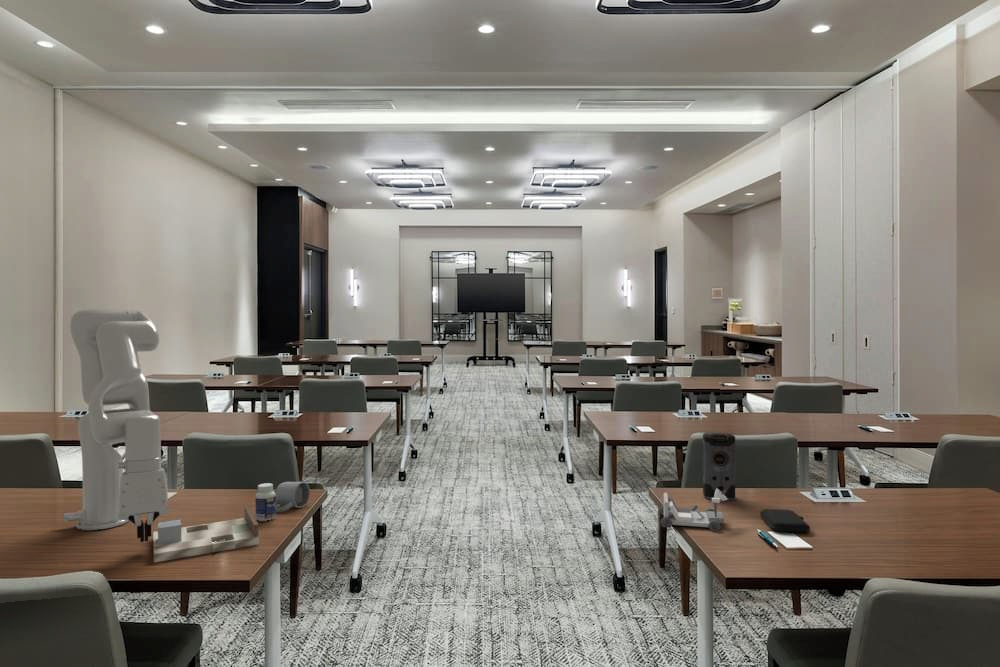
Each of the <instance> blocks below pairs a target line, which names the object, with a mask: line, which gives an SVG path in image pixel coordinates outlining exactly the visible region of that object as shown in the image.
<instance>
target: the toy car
mask: <svg viewBox="0 0 1000 667" xmlns="http://www.w3.org/2000/svg"><path fill="white" fill-rule="evenodd" d="M725 492H726V490H725V491H724V492H721V491H720V490H719V489H716V491H715V494H714V498H712V499H711V503H713V504H714V509H713V508H707V509H705V511H699V510H698V509H697V508H698V505H697V504H694V505H692V507H691V508H679V507H677V506H676V503H675V502H674V500H673V498H672V497H669V498H668V492H663V506H661V507H660V508H659V513H660V515H661V516H663V517H662V518H661V520H660V525H661V527H662V528H670V529H671V528H672V526H687V527H699V528H700V527H701V528H708V529H709V530H710V531H713V532H714V531H716V532H719V531H720V530H721V524H720V523H725V517H724V514H723V512H722V511H717V505H718V504H719V503H721V502H724V501H729V500H728V499H727V498H726V497H725V495H724V493H725Z"/></svg>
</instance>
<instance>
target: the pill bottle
mask: <svg viewBox="0 0 1000 667" xmlns="http://www.w3.org/2000/svg"><path fill="white" fill-rule="evenodd" d="M257 491H258V492H256V493H255V519H256V521H257V520H258V521H257V522H268V521H267V520H269V521H272V520H274V519H275V518H276V514H277V512H276V508H277V506H276V494H275V491H274V484H273V483H270V482H267V483H265V482H264V483H260V484H258V485H257ZM271 519H272V520H271Z"/></svg>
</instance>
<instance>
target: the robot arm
mask: <svg viewBox="0 0 1000 667" xmlns="http://www.w3.org/2000/svg"><path fill="white" fill-rule="evenodd" d="M69 327H70V328H69V329H70V335H71V338H72V341H73V343H74V345H75V348H76V350H77V353H78V355H79V361H80V375H81V376H80V378H81V392H82V398H83V401H84V402H85V404H86V405H88V408H87V409H88V411H87V412H88V413H86V414H84V415H83V416H81V417H80V419H78V421H77V422H78V423H77V432H78V438H79V443H80V450H81V463H82V465H81V466H82V467H81V468H82V469H81V470H82V508H81V510H77V512H67V513H63V517H62V518H63V521H64V522H65V521H67V522H75V521H77V522H76V526H75V527H76V529H78V530H80V529H81V530H80V531H98V530H99V529H100V530H106V529H111V528H115V527H118V526H121V525H122V526H123V525H124V524H126V523H127V522H131V523H133V525H135V526H136V538H137V539H140V543H143V542H148V541H149V537H152V524H153V522H154V521H156V520H157V518H158V517H161V516H163V515H166V514H168V513H169V512H170V509H169V506H168V503H169V501H168V500H169V498H168V495H169V494H168V493H169V492H168V481H167V475H166V474H167V473H166V471H165V468H163V467H162V452H161V451H162V447H161V446H162V444H161V443H162V442H161V440H162V438H161V434H162V433H161V431H162V430H161V417H160V416H159V415H157V414H156V413H154V412H153V411H151V408H150V406H151V405H150V391H149V384H148V380H147V377H146V376H145V374H144V373H143V372H142V368H141V365H140V360H139V359H140V358H139V355H138V352H139V353H140V352H143V353H144V352H153V351H155V350H156V349H157V348H158V346H159V342H160V335H159V331H158V328H157V326H156V324H155V323H154V321H153V320H151V318H149V317H148V316H147V315H146V314H145V313H144V312H143V311H140V310H138V309H136V310H135V309H111V308H108V309H106V308H98V309H97V308H91V309H83V310H78V311H76V312H75V313H73V314H72V316H71V319H70V326H69ZM116 405H128V408H122V409H121V408H118V409H106V410H105V409H104V406H116ZM119 443H124V447H125V448H124V453H125V454H124V455H125V456H124V458H125V460H123V457H122V455H121V454H120V452H119V451H117V450H116V449H115V448H114V447H113V445H115V444H119ZM124 470H125V471H124ZM144 514H145V515H146V514H147V517H146V520H145V522H144V520H143V519H142V515H144Z"/></svg>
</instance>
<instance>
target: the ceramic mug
mask: <svg viewBox="0 0 1000 667" xmlns="http://www.w3.org/2000/svg"><path fill="white" fill-rule="evenodd" d="M310 490H311V489H310V485H309V484H308V482H305V481H284V482H282V483H279V484H278V485H277V487H276V489H275V491H274V492H275V494H276V513H283V512H285V511H288V510H289V509H290V508H294V509H295V508H296V509H301V507H302V508H304V507H305V506H306V505H307V504H308V502H309V500H310V495H311V491H310ZM278 505H279V506H281V507H277V506H278Z"/></svg>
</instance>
